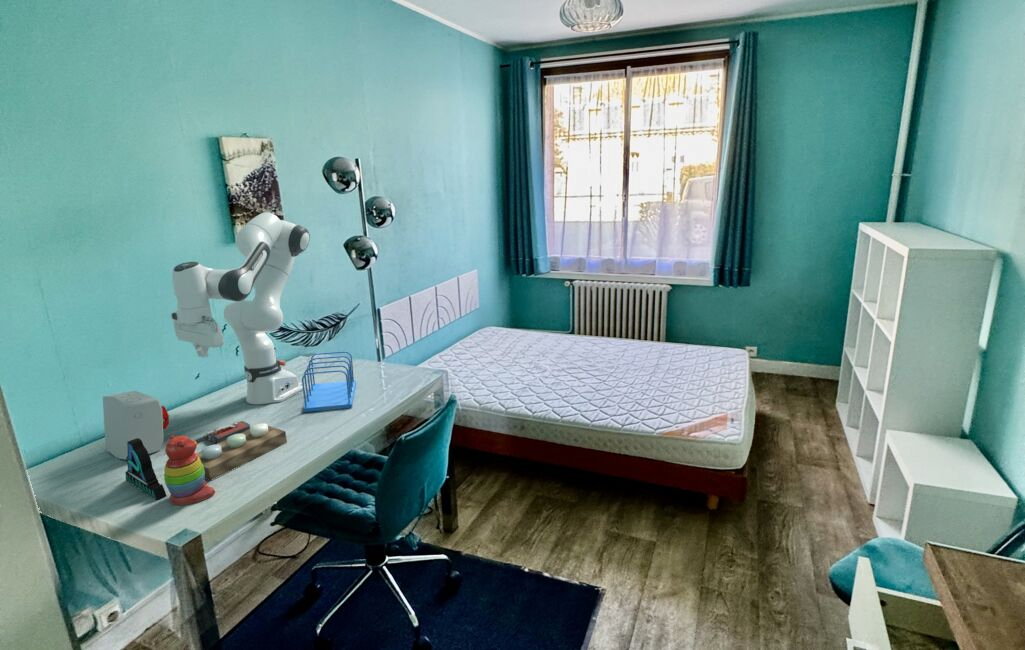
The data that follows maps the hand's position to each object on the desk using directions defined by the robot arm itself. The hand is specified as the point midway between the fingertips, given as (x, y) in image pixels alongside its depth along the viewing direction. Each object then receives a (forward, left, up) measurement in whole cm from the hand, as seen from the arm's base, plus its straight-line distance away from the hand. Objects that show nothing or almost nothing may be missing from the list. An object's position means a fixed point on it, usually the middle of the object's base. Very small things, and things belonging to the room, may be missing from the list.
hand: (203, 356), depth 172 cm
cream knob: (-4, +17, -28) cm, 33 cm away
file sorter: (-42, +7, -30) cm, 52 cm away
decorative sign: (+28, +10, -30) cm, 42 cm away
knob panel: (+4, +17, -29) cm, 34 cm away
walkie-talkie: (0, 0, -30) cm, 30 cm away
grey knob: (+12, +17, -27) cm, 34 cm away
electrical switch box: (+15, -16, -29) cm, 37 cm away
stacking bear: (+24, +25, -29) cm, 45 cm away
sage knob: (+4, +17, -27) cm, 33 cm away
